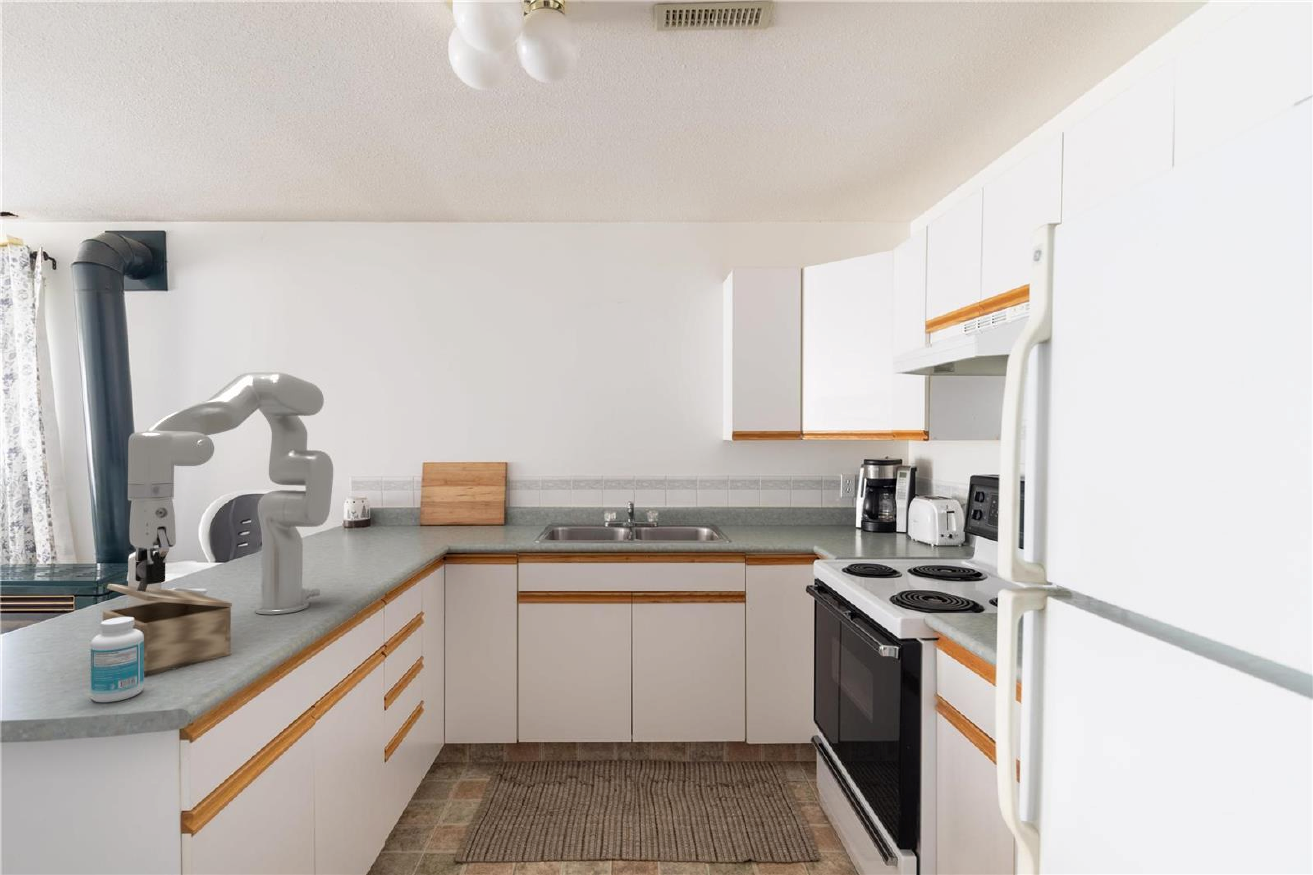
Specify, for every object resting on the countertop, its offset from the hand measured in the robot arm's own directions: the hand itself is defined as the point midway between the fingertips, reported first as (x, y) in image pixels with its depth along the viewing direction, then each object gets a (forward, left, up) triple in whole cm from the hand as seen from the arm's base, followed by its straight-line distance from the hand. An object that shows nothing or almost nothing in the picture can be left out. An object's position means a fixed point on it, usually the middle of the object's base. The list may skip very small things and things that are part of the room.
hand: (150, 580), depth 137 cm
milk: (-6, -19, -17) cm, 26 cm away
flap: (-3, 0, -4) cm, 5 cm away
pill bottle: (+11, +16, -17) cm, 26 cm away
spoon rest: (-21, -41, -17) cm, 49 cm away
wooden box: (-3, 0, -17) cm, 17 cm away
